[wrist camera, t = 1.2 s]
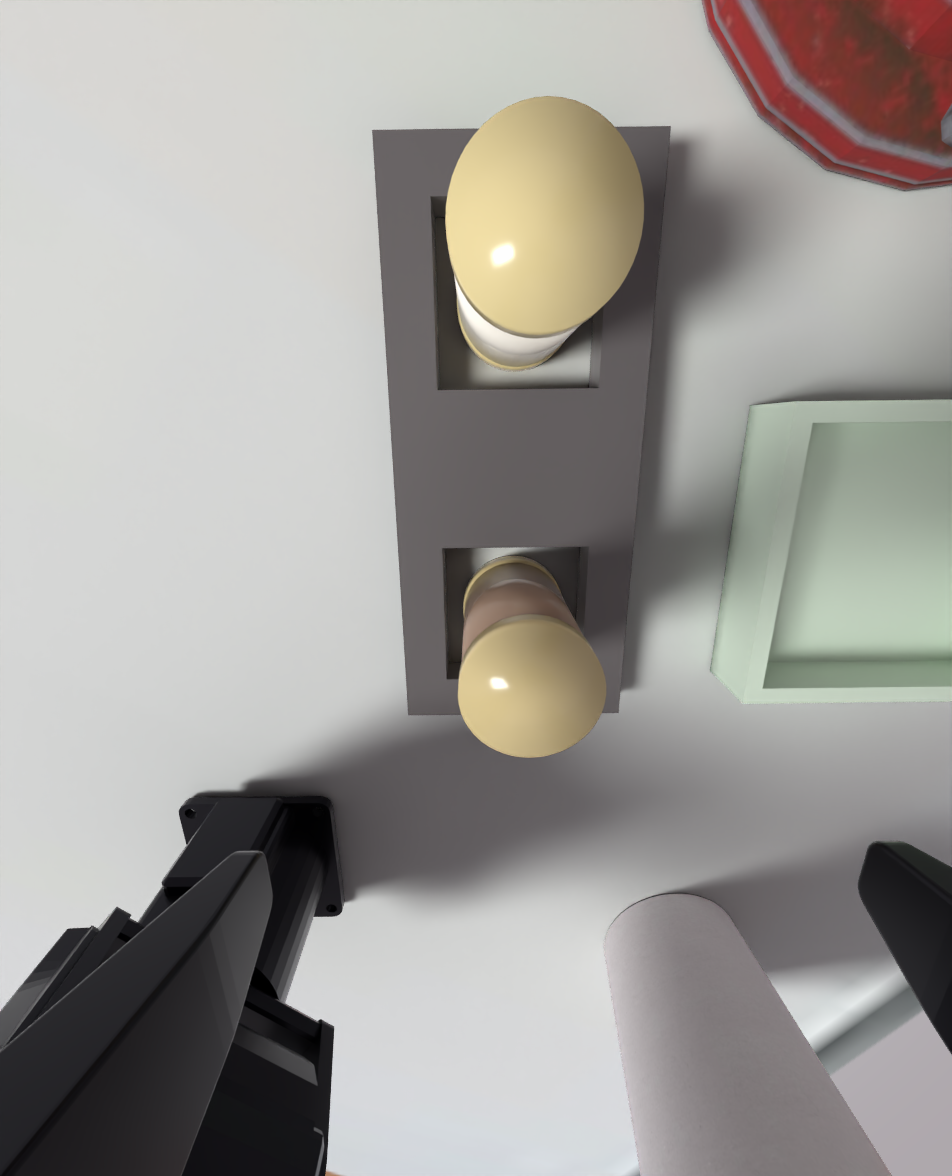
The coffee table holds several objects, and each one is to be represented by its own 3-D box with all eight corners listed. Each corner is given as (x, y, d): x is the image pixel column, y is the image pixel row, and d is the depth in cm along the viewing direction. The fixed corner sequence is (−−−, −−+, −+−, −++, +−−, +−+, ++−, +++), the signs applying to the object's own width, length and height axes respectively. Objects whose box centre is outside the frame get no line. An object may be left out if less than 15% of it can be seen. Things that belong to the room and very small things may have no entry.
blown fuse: (558, 646, 19) (601, 756, 13) (464, 647, 19) (459, 758, 13) (562, 554, 18) (611, 625, 12) (462, 556, 18) (456, 626, 12)
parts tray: (959, 667, 20) (1025, 700, 17) (710, 670, 20) (742, 704, 17) (1045, 401, 17) (1141, 397, 14) (750, 405, 17) (796, 401, 14)
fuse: (570, 370, 16) (634, 330, 10) (459, 372, 16) (448, 332, 10) (575, 240, 15) (653, 94, 9) (456, 242, 15) (441, 97, 9)
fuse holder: (608, 694, 20) (618, 712, 19) (412, 695, 20) (408, 715, 19) (652, 154, 14) (670, 126, 13) (381, 158, 14) (372, 130, 13)
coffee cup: (726, 1019, 26) (1033, 1738, 12) (552, 995, 25) (650, 1720, 11) (797, 884, 23) (1318, 1619, 9) (602, 853, 23) (823, 1587, 8)
